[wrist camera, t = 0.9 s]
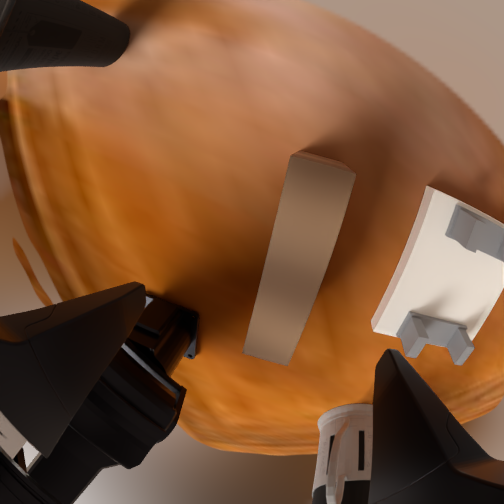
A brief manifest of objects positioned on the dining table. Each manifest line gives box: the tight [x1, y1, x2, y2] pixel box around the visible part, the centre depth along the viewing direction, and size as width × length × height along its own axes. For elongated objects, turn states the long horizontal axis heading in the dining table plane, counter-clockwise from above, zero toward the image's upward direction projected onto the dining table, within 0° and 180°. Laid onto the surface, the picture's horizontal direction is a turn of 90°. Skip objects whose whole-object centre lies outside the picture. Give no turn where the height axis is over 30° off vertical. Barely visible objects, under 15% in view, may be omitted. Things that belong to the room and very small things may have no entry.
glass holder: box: [312, 403, 373, 504], centre depth 20 cm, size 9×14×15 cm, turn 24°
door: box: [242, 151, 356, 366], centre depth 17 cm, size 12×3×7 cm, turn 169°
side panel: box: [371, 186, 504, 365], centre depth 16 cm, size 12×11×4 cm
